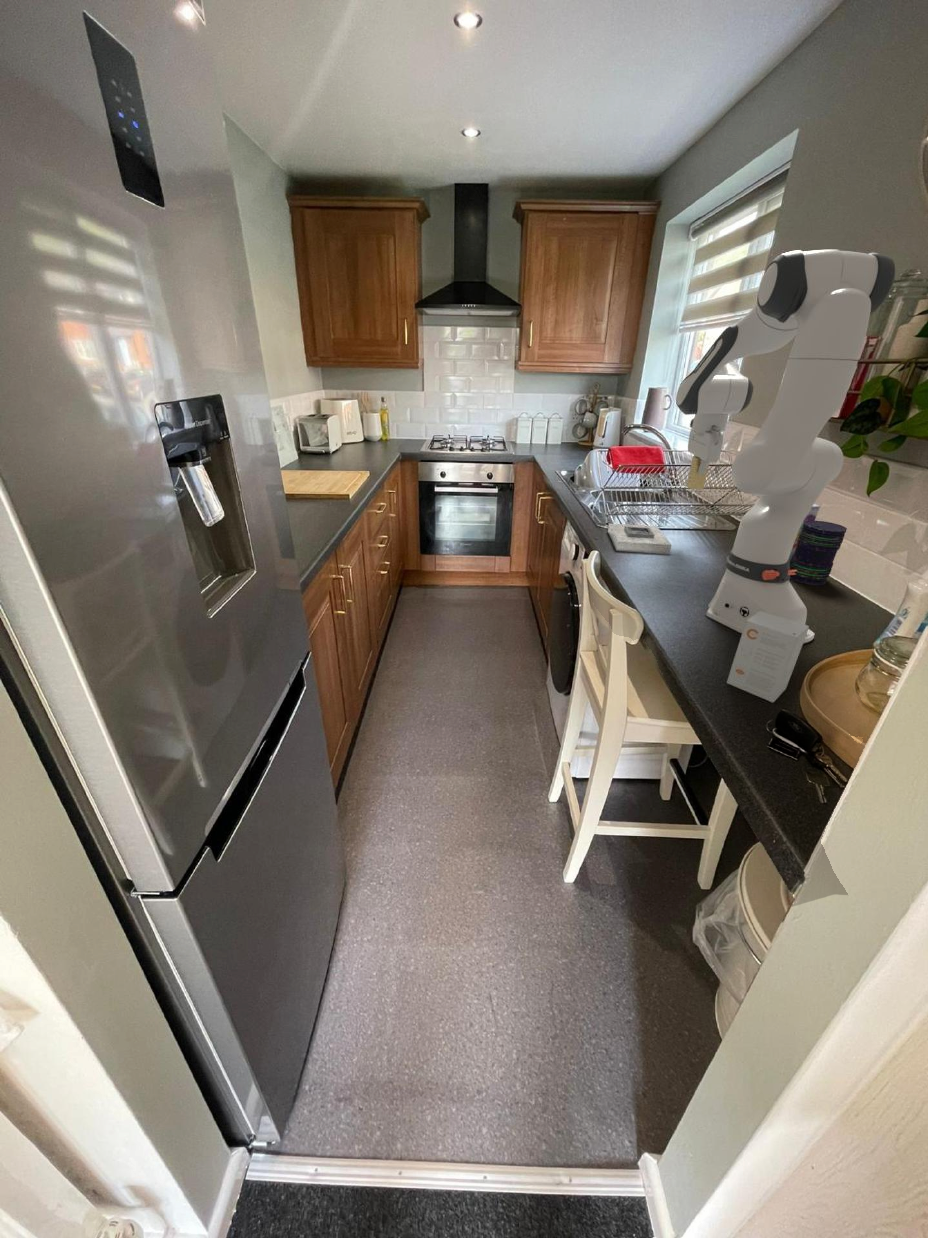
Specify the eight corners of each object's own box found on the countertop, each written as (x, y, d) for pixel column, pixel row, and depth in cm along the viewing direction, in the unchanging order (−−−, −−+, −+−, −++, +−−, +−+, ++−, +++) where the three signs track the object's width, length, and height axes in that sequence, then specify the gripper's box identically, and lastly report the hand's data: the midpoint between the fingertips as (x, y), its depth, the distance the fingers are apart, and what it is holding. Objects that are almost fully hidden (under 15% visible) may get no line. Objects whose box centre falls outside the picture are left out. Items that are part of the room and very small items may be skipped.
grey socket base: (669, 554, 152) (672, 541, 150) (616, 550, 154) (618, 538, 152) (655, 534, 170) (657, 523, 168) (607, 531, 171) (609, 520, 170)
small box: (785, 689, 88) (811, 625, 82) (773, 704, 84) (798, 637, 78) (739, 670, 94) (759, 609, 88) (725, 683, 90) (745, 619, 84)
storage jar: (802, 569, 143) (820, 519, 136) (835, 582, 135) (856, 529, 128) (777, 573, 140) (794, 521, 133) (809, 586, 132) (829, 532, 125)
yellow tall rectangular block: (703, 489, 150) (710, 459, 146) (689, 488, 151) (696, 458, 147) (699, 486, 154) (706, 456, 150) (686, 486, 154) (692, 456, 150)
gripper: (733, 428, 134) (719, 479, 141) (710, 421, 152) (699, 467, 159) (709, 427, 135) (696, 478, 141) (689, 420, 153) (679, 466, 159)
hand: (698, 472), depth 150 cm, fingers closed on yellow tall rectangular block, 4 cm apart
